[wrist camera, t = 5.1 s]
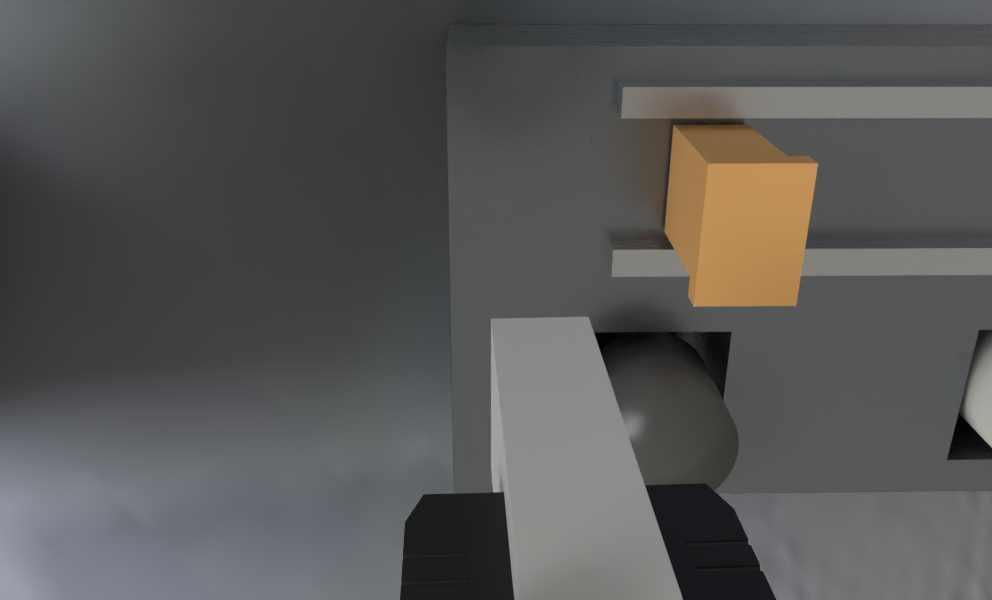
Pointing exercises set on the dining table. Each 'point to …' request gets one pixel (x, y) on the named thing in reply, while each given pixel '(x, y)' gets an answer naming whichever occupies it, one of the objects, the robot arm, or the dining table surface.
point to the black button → (671, 410)
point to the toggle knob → (738, 215)
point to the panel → (661, 274)
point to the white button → (979, 388)
